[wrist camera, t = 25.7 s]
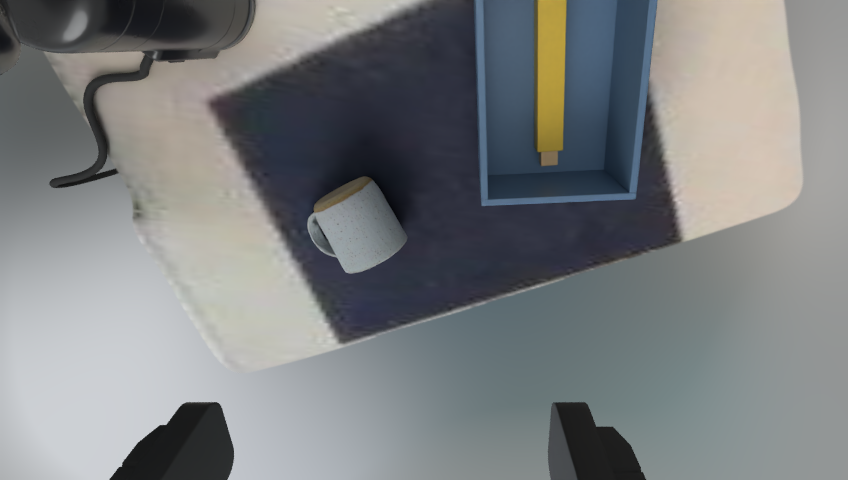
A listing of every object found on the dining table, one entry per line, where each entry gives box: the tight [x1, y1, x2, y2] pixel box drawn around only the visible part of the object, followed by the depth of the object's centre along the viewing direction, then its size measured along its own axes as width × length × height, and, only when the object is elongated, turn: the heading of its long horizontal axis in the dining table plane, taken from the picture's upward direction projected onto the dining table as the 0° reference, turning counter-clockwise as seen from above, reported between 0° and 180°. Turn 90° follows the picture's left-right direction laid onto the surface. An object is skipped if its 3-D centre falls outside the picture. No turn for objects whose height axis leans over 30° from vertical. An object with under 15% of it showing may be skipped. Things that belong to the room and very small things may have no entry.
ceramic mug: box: [307, 176, 407, 273], centre depth 48 cm, size 11×8×8 cm
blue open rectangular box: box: [474, 0, 657, 206], centre depth 40 cm, size 22×13×9 cm, turn 4°
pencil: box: [534, 0, 567, 166], centre depth 42 cm, size 18×2×2 cm, turn 5°
